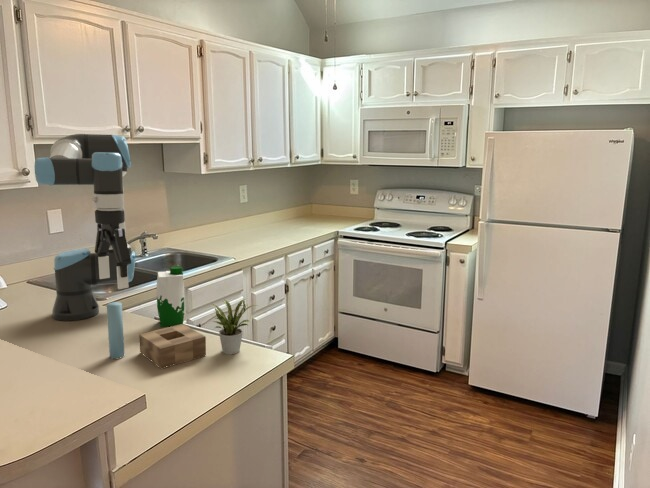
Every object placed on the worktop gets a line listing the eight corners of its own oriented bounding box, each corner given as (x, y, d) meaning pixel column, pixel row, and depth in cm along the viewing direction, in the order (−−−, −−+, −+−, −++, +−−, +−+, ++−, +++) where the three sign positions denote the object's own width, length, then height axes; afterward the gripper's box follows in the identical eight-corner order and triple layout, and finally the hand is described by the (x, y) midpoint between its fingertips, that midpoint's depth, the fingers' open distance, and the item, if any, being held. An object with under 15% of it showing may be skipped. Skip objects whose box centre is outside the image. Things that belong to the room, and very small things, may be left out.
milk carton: (185, 326, 170) (184, 270, 166) (158, 328, 166) (156, 271, 163) (183, 317, 178) (182, 264, 174) (157, 320, 174) (155, 265, 171)
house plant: (258, 340, 159) (258, 292, 155) (259, 358, 145) (259, 305, 142) (213, 342, 156) (212, 292, 153) (209, 360, 143) (208, 306, 140)
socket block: (140, 353, 146) (139, 334, 145) (183, 341, 156) (182, 323, 155) (161, 368, 136) (160, 348, 135) (205, 355, 146) (205, 336, 145)
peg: (107, 356, 144) (104, 303, 141) (121, 352, 146) (118, 301, 143) (112, 360, 141) (109, 307, 138) (126, 356, 144) (124, 304, 141)
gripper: (79, 205, 142) (84, 276, 146) (113, 214, 124) (117, 295, 128) (106, 203, 147) (110, 272, 151) (142, 212, 129) (145, 290, 133)
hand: (113, 283), depth 139 cm, fingers open, 13 cm apart
